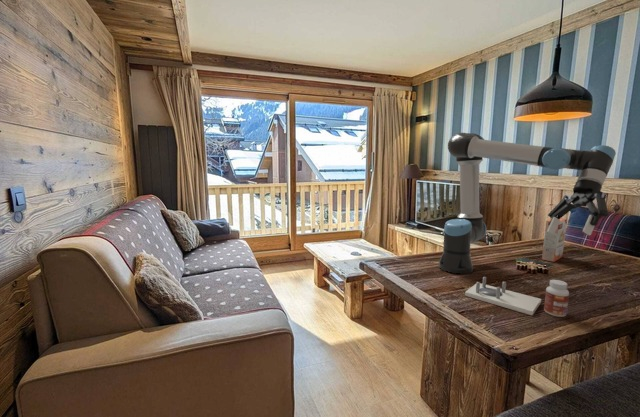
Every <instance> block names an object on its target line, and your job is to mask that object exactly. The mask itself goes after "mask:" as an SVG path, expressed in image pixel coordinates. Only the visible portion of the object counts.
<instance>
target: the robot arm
mask: <svg viewBox="0 0 640 417" xmlns="http://www.w3.org/2000/svg"><path fill="white" fill-rule="evenodd" d="M447 150H448V152H449V154H450V155H451V156H453V157H455V158H456V160H455V161H456V163H457V165H458V166H459V195H460V197H459V198H460V207H459V209H460V212H459V214H458V215H457V216H456V217H457V218H455V219H453V218H452V219H449V220H447V221H446V222H445V224H444V228H443V248H442V249H443V251H442V254H441V256H440V259H439V261H438V268H439V269H440V268H441V269H440V270H442V271H444V272H446V271H448V273H450V272H452V273H451V274H456V273H460V275H462V274H463V275H464V274H465V275H466V274H470V273H472V272H473V271H474V265H473V261H472V258H471V255H470V253H471V244H473V243H477V242H479V241H480V240H482V238H484V237H485V236H486V234H487V229H488V228H487V225H486V223H485V222H484V215H483V214H481V213H480V164H481V163H482V161H483V158H484V159H491V160H496V161H502V162H503V161H504V162H510V163H514V164H516V163H517V164H523V165H528V166H534V167H540V168H541V167H542V168H547V169H549V170H561V169H562V170H563V169H568V170H576V171H577V170H578V171H580V173H579V175H578V176H577V179H576V182H575V184H574V186H573V189H572V192H573V193H572V195H570V196H568V195H564V196H563V197H562V198H561V200H560V201H559V202H558V204H556V206H554V207H553V209H552V210H551V211H550V212H549V213H548V214H547V216H548V217H550V219H551V221H550V223H549V227H548V230H547V232H548V233H550V234H551V235H554V234H555V232H556V229H557V227H558V225H559V223H560V220H559V219H560V218H563V217H564V216H565V215H567V214H568V213H570V212H571V211H572V210H574V209H575V210H576V209H577V208H581V207H588V209H589V211H590V212H591V213H590V214H589V215H588V218H586V222H585V225H584V226H583V228H582V232H583V233H585V234H586V235H587V236H591V235H592V234H593V231H594V228H595V227H596V226H597V225H598V223H599V221H600V219H601V218H602V217H608V216H609V211H608V208H607V202H606V201H607V200H606V197H607V194H606V193H604V192H603V191H601V190H602V186H603V185H604V183H605V181H606V178H607V176H608V173H609V172H610V169H611V167H612V166H613V164H614V160H615V157H616V150H615V149H614V148H613V147H611V146H609V145H605V144H600V145H594V146H593V147H591V149H590V150H582V149H581V150H579V149H571V148H561V147H559V148H558V147H548V146H541V145H540V146H539V145H532V144H526V143H525V144H522V143H516V142H515V143H514V142H506V141H499V140H489V139H485V138H483V136H481V135H479V134H478V133H469V132H458V133H456V134H453V135H452V136H451V137H450V138H449V140H448V142H447ZM483 162H484V161H483ZM595 200H596V203H597V204H595V202H594V201H595ZM596 205H597V206H596Z"/></svg>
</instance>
